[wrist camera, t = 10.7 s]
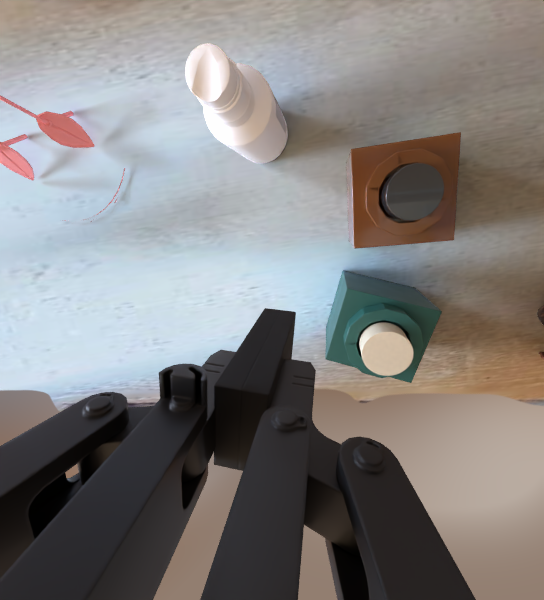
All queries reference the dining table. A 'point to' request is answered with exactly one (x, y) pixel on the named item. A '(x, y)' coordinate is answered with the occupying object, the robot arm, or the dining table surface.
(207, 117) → the white bottle
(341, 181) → the dining table surface
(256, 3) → the dining table surface
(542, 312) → the brown jagged looped figure
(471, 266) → the dining table surface
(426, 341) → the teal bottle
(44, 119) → the figurine
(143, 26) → the dining table surface
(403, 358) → the beige cylinder
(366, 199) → the brown push button box
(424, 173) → the dark gray button
